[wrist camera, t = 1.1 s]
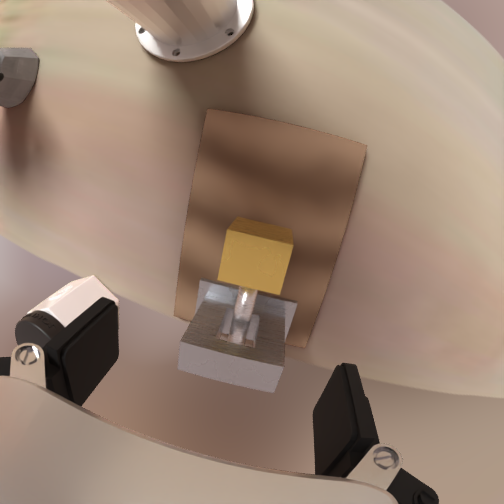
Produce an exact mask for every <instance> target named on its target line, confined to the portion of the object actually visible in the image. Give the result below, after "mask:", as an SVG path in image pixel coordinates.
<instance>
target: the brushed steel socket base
mask: <svg viewBox="0 0 504 504" xmlns="http://www.w3.org/2000/svg"><path fill="white" fill-rule="evenodd" d="M238 291H239V287H236V286H232V285H228V284H224V283H220V282H216V281H212V280H208V279H204V278H201V279H200V283H199V290H198V296H197V303H196V310H195V316H194V317H193V319H192V321H191V323H190V324H189V326H188V329H187V330H186V332H185V334H184V335H183V337H182V339H181V341H180V349H179V359H178V369H179V370H182V371H185V372H188V373H192V374H195V375H199V376H202V377H206V378H210V379H214V380H217V381H221V382H226V383H229V384H233V385H238V386H242V387H246V388H251V389H255V390H260V391H265V392H270V393H274V392H275V389H276V387H277V384H278V381H279V379H280V376H281V374H282V371H283V369H284V351H285V340H286V337H287V334H288V331H289V328H290V325H291V322H292V319H293V316H294V313H295V310H296V307H297V304H298V303H297V301H295V300H291V299H286V298H282V297H278V296H273V295H269V294H265V293H261V292H258V293H257V297H256V301H255V305H254V309H253V313H252V317H251V321H250V325H249V329H248V332H247V336H246V339H249V340H253V346H252V347H248V346H244V345H240V344H236V343H232V342H228V341H224V340H220V337H221V334H222V333H224V334H228V335H229V332H230V327H231V323H232V318H233V314H234V309H235V304H236V300H237V295H238Z"/></svg>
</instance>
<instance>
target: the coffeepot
mask: <svg viewBox="0 0 504 504" xmlns="http://www.w3.org/2000/svg"><path fill="white" fill-rule="evenodd" d="M38 60H39V58H38V56H37V54H36V53H35V52H34V51H33V50H32V49H31V48H0V106H3V107H6V108H10V107H13V106H16V105H18V104H20V103H22V102H23V101H24V99H25V98H26V97H27V95H28V94H29V92H30V91H31V89H32V87H33V85H34V82H35V79H36V76H37V72H38V65H39V63H38Z"/></svg>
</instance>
